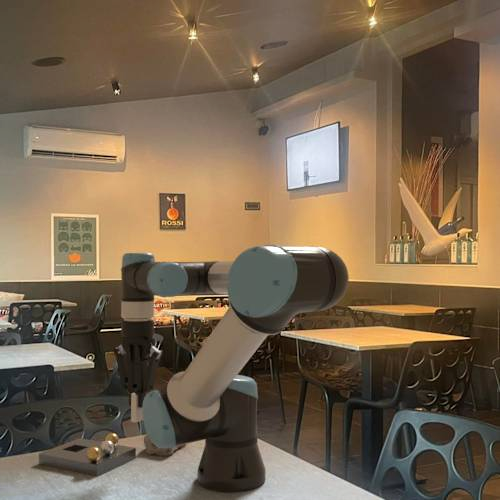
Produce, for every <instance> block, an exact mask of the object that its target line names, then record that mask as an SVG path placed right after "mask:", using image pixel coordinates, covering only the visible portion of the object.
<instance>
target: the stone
mask: <svg viewBox="0 0 500 500" xmlns="http://www.w3.org/2000/svg"><path fill="white" fill-rule="evenodd" d="M143 444H144V447H145V453H146V454H147V455H149V456H152V455H153V456H154V455H156V456H160V457H170V456H171V455H173V454H174V452H175V451H177V450H178V449H180V448H183V447H185V446H186V444H183V445H179V446H175V447H174V448H173V447H172V448H171V447H169V448H158V447H157V446H156V445H154V444H153V443H152V442H151V440H150V439H149V437H148V435H147V433H146V434H144V437H143Z"/></svg>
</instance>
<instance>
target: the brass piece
mask: <svg viewBox="0 0 500 500" xmlns="http://www.w3.org/2000/svg"><path fill="white" fill-rule="evenodd" d="M100 456H101V451H100V449H99V448H97V447H92V448H90V449H89V450H88V451H87V458H88V460H90V461H92V462H94V461H97V460H98V459H99V458H100Z"/></svg>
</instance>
